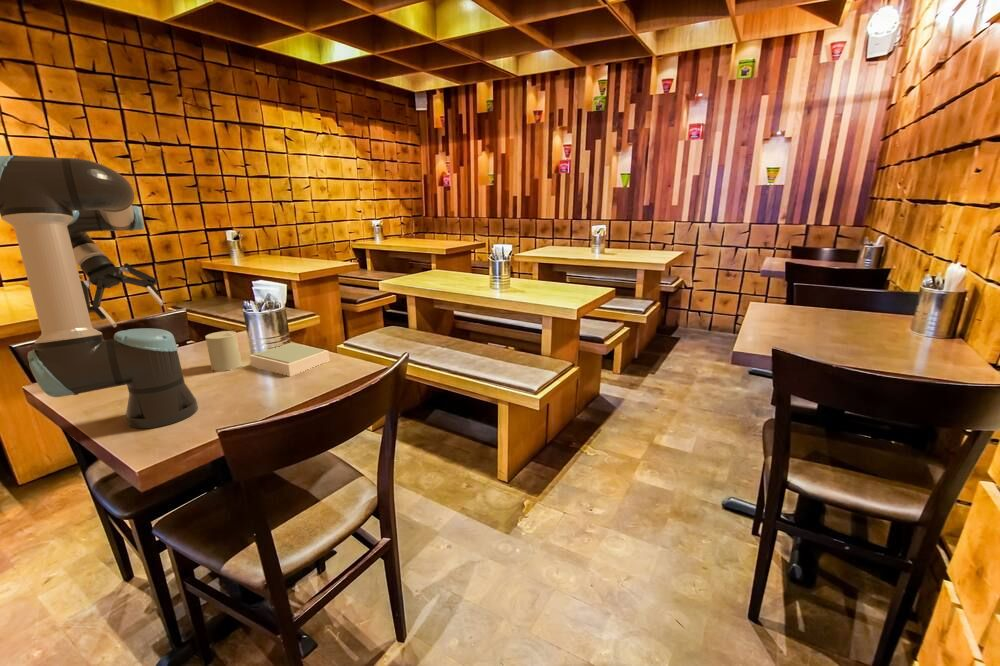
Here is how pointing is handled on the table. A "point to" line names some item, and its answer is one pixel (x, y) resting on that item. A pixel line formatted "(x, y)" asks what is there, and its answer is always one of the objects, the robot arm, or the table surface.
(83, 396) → the table surface
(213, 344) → the can
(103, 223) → the robot arm
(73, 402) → the table surface
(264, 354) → the block
